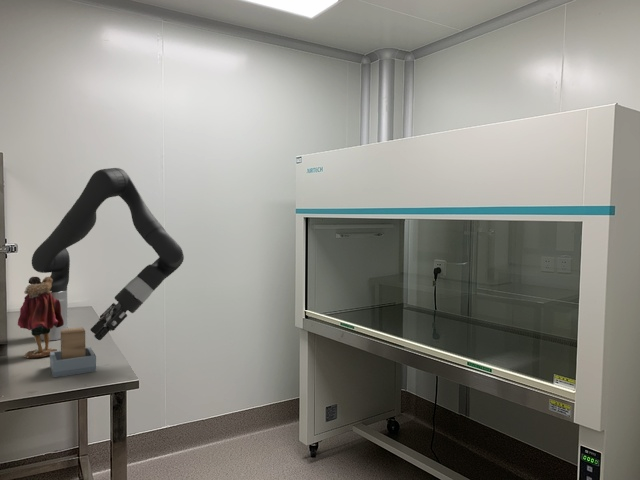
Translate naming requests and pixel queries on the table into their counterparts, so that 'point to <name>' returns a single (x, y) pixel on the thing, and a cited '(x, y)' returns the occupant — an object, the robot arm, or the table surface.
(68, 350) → the tan wooden block
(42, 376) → the table surface
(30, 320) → the figurine
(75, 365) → the open box
